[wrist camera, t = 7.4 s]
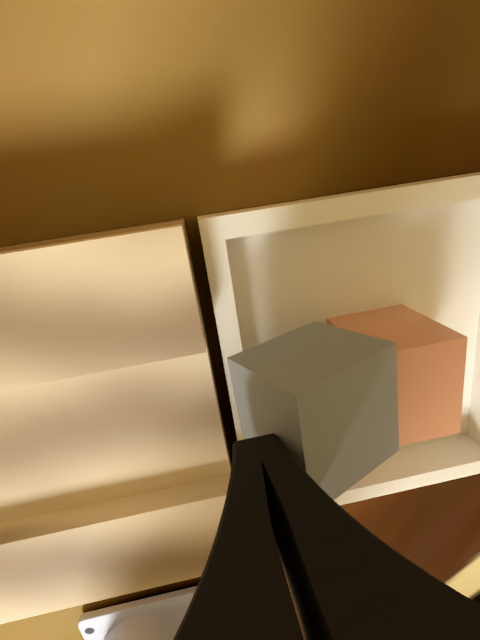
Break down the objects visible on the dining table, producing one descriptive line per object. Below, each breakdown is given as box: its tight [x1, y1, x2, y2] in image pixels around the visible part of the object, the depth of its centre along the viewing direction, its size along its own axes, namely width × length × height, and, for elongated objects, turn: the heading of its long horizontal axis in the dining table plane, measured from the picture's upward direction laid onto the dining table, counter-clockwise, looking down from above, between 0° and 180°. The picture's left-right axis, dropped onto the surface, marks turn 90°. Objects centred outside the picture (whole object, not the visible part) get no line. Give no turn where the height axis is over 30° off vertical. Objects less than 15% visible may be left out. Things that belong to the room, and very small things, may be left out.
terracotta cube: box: [327, 304, 468, 446], centre depth 14 cm, size 4×4×4 cm
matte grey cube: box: [227, 321, 399, 500], centre depth 12 cm, size 4×4×4 cm
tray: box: [197, 172, 480, 505], centre depth 16 cm, size 14×13×2 cm
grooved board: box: [0, 218, 232, 624], centre depth 14 cm, size 14×16×4 cm
